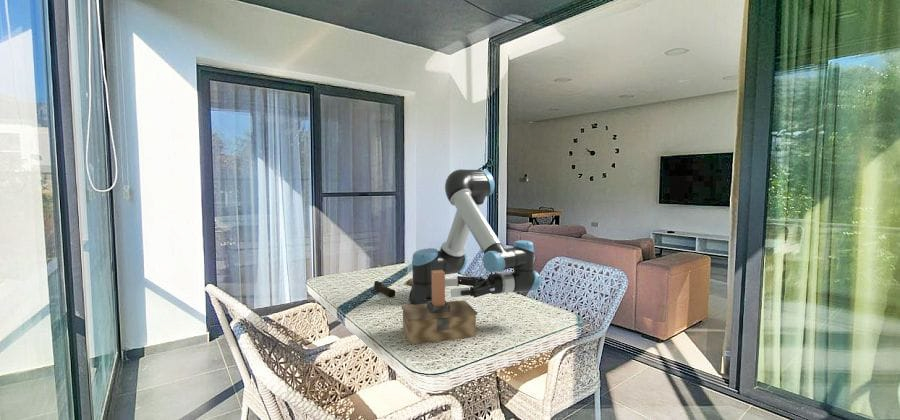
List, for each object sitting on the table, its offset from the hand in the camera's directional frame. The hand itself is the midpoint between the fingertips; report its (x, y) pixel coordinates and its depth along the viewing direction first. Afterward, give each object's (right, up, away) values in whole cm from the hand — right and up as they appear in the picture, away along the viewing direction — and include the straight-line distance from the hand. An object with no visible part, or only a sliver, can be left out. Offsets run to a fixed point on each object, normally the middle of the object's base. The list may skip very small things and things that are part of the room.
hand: (445, 287), depth 148 cm
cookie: (-16, -11, +69) cm, 72 cm away
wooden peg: (-3, -8, +1) cm, 8 cm away
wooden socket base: (-3, -17, +2) cm, 17 cm away
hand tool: (-32, -13, +52) cm, 62 cm away
